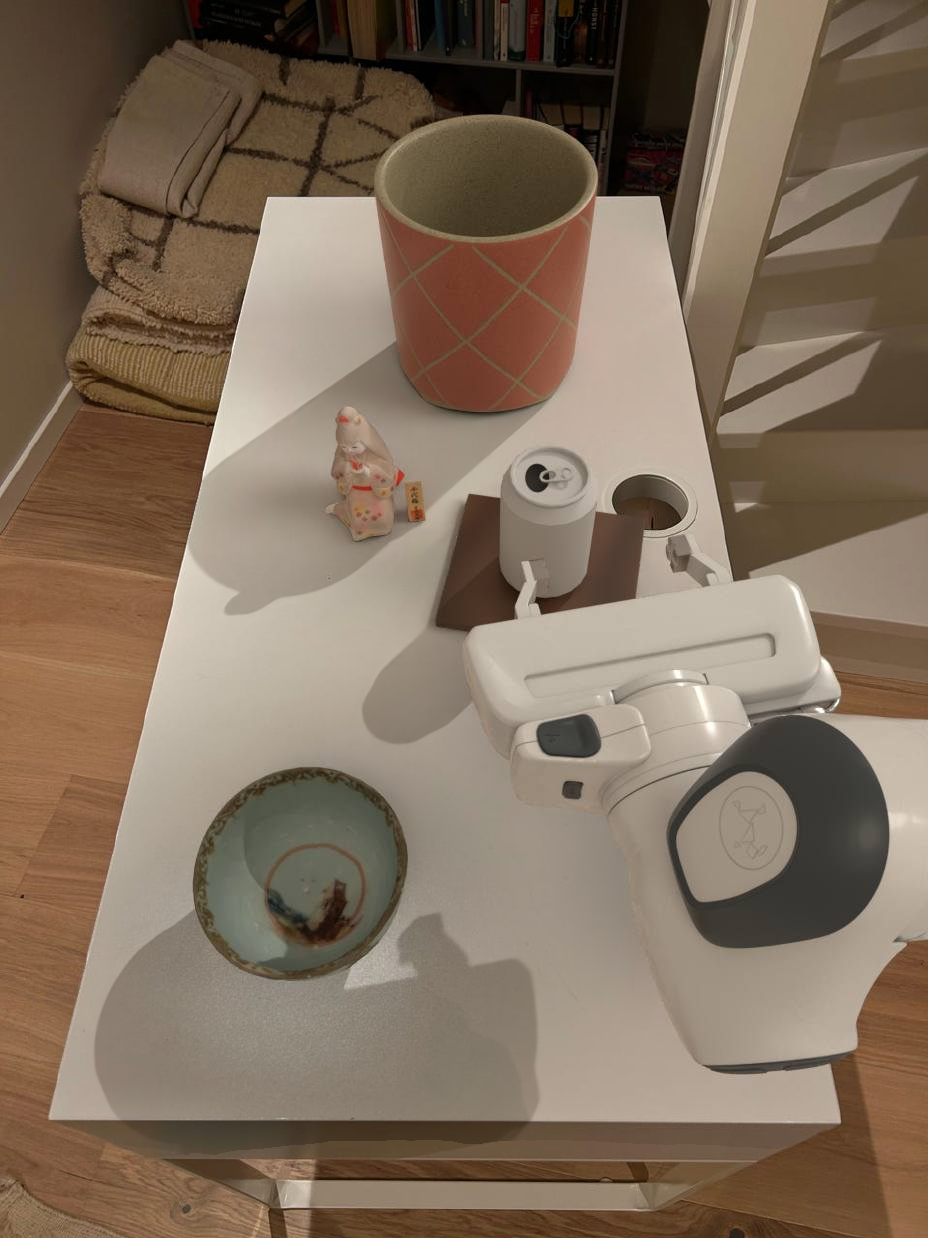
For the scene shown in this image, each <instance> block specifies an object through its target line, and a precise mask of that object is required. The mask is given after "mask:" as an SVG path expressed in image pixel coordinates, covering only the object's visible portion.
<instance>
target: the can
mask: <svg viewBox="0 0 928 1238" xmlns="http://www.w3.org/2000/svg"><path fill="white" fill-rule="evenodd" d="M599 492H600V485H599V482H598V478H597V476H596V474H595V473H594V471H593V470H592V467H591V464H590V463H589V462H588V461H587V459H586V458H585V456H584V455H582V454H581V453H580V452H578V451H577V450H575V449H573V448H570V447H567V446H565V445H563V444H562V445H561V444H553V443H548V444H547V443H546V444H537V445H535V446H532V447H530V448H527V449H525V450H523V451H522V452H521V453H519V454H518V455H517V456H515V458H514V460H513V461H512V462H511V464H510V465H509V466H508V467H507V469H506V471H505V472H504V473H503V475H502V479H501V483H500V492H499V493H500V495H499V498H500V558H499V561H500V567H501V572H502V574H503V575H504V577H505V579H506V580H507V582H508V583H509V584H511V585H512V586H513V587H514V588H515V589H516V590H518V591H520V592H521V590H522V587H523V586H522V582H521V577H520V562H523V561H529V560H536V559H542V558H544V560H545V563H546V565H545V568H546V569H547V570H548V574H549V577H550V580H549V585H548V587H549V593H548V595H542V596H537V597H541V598H548V597H557V596H560V595H563V594H565V593H568V592H570V591H572V590H573V589H574V588H575V587H577V586H578V585H579V584H580V583H581V582H582V580H583V578H584V577H585V575H586V573H587V566H588V560H589V553H590V546H591V540H592V533H593V526H594V520H595V513H596V511H597V506H598V498H599Z"/></svg>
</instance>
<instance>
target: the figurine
mask: <svg viewBox="0 0 928 1238" xmlns="http://www.w3.org/2000/svg"><path fill="white" fill-rule="evenodd" d="M334 419H335V423H336V428H335V439H336V440H335V441H336V443H337V447H336V449H335V452H334V457H333V461H332V465H331V468H330V469H331V470H330V476H331V478H332V479H333V480H334V481H335V482H336V488H337V489H336V490H337V491H338V492H339V493H340V494H342V495H345V499H341V500H339V501H337V502H336V503H331V504H329V505H327V506H325V507H326V508H325V513H326V515H330V514H333V515H335V516H336V517H337V518H338V519H339V520H341V522H343V524H345V525H346V526H347V528H348V529H349V530H350V533H351V536H352V539H353V540H354V541H356V542H357V541H358V542H359V541H361V540H364V539H367V538H370V537H378V536H385V535H388V534H390V532H391V531H392V528H393V525H394V521H395V499H394V494H393V493H394V492H395V489H396V487H398V486H399V485H400V484H401V482H402V481H403V479H404V477H405V473H404V471H402V470H401V469H399V467H397V466H396V465H394V458H393V456H392V454H391V452H390V450H389V448H388V446H387V444H386V443H385V441H384V439H383V438H382V436H381V434H380V433H379V432H378V430H376V428H375V427H374V426H373V425H372V424H371V423H370V421H369V420H368V419H366V417H364V416H363V415H362V414H360V413H359V412H358V411H357V410H356V409H355V408H354V407H352V406H343V407H341V409H339V411H338V412H337V416H336V417H335V418H334ZM404 492H405V499H406V500H405V501H406V507H407V516H408V519H407V521H408V522H419V521H425V520H426V512H425V511H426V510H425V503H424V502H425V501H424V495H423V494H424V493H423V486H422V481H421V480H417V481H416V480H415V481H408V482H404Z"/></svg>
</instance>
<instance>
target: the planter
mask: <svg viewBox="0 0 928 1238" xmlns="http://www.w3.org/2000/svg"><path fill="white" fill-rule="evenodd" d="M598 185H599V173H598V167H597V165H596V162H595V159H594V158H593V156H592V154H591V153H590V152H589V150H588V149H587V148H586V147H585V146H584V145H583V144H582V143H581V142H580V141H578V139H576V138H575V137H573V136H572V135H570V134H568V133H567V132H565V131H564V130H561V129H559V128H557V127H555V126H552V125H549V124H547V123H544V122H542V121H538V120H535V119H531V118H526V117H520V116H514V115H505V114H473V115H462V116H456V117H451V118H446V119H444V120H443V119H442V120H438V121H435V122H432V123H429V124H426V125H424V126H422V127H419V128H417V129H415V130H413V131H411V132H409V133H407V134H406V135H404V136H402V137H400V138H399V139H398V140H396V141H395V142H394V143H393V144H391V146H389V147H388V149H387V150H386V151H384V153H383V154H382V156H381V157H380V159H379V161H378V162H377V164H376V167H375V169H374V175H373V191H374V199H375V206H376V212H377V219H378V227H379V232H380V233H379V234H380V241H381V247H382V248H381V249H382V255H383V262H384V268H385V269H384V270H385V275H386V280H387V287H388V293H389V300H390V306H391V313H392V319H393V326H394V333H395V339H396V340H395V341H396V346H397V353H398V358H399V362H400V364H401V367H402V370H403V372H404V374H405V376H406V377H407V378H408V380H409V381H410V382H411V384H412V385H413V386H414V388H415V389H416V390H417V392H418V394H419V395H420V396H421V398H422V399H423V400H424V401H425V402H427V403H428V404H431V405H434V406H436V407H440V408H443V409H449V410H455V411H463V412H474V413H495V412H496V413H497V412H504V411H510V410H511V411H512V410H516V409H521V408H526V407H530V406H532V405H536V404H539V403H542V402H545V401H546V400H548V399H550V398H551V397H553V396H554V395H555V393H556V392H557V390H558V389H559V387H560V385H561V384H562V382H563V381H564V379H565V377H566V375H567V374H568V372H569V370H570V368H571V366H572V364H573V363H572V362H573V359H574V356H575V351H576V350H575V349H576V343H577V336H578V328H579V323H580V315H581V308H582V300H583V293H584V287H585V280H586V274H587V267H588V260H589V254H590V245H591V237H592V230H593V222H594V215H595V214H594V213H595V206H596V199H597V193H598Z"/></svg>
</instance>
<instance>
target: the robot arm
mask: <svg viewBox="0 0 928 1238" xmlns="http://www.w3.org/2000/svg"><path fill="white" fill-rule="evenodd" d="M666 541H667V543H666V545H665V556H666V558H667V560H668V561H669V562H670V563H669V567H670V569H671V572H672V574H676V573H683V572H685V573H686V574H688V576H690V577H691V578H692V579H693V580H694V581H695V582H697V583H698V584H699V585H700V586H701V587H695V588H690V589H689V588H688V589H684V590H678V591H672V592H667V593H660V594H654V595H648V596H643V597H636V599H631V600H625V601H619V602H613V603H607V604H602V605H596V606H590V607H584V608H578V609H573V610H567V611H561V612H555V613H549V614H544V615H541V613H540V610H539V606H538V604H536V603H534V602H535V599H536V597H537V596H542V595H548V593H549V587H548V585H549V580H550V577H549V574H548V570H547V569H546V568H545V565H546V563H545V560H544V558H542V559H536V560H529V561H523V562H520V577H521V582H522V586H523V587H522V590H521V592H520V595H519V597H518V600H517V602H516V605H515V620H509V621H503V622H497V623H491V624H485V625H479V626H476V627H474V628H472V629H471V631H470V632H469V631H468V634H467V635H466V638H465V639H464V641H463V642H462V659H463V667H464V672H465V677H466V682H467V685H468V688H469V692H470V696H471V698H472V701H473V705H474V708H475V711H476V714H477V717H478V718H479V721H480V723H481V726H482V729H483V731H484V733H485V735H486V738H487V739H488V742H489V743H490V745H491V746H492V748H493V749H494V750H495V751H496V753H498V755H500V756H501V757H503V758H504V759H505V760H507V761H509V771H510V777H511V783H512V786H513V789H514V793H515V795H516V798H517V799H518V800H519V801H520V802H521V803H523V804H525V805H528V806H534V807H544V808H553V809H562V810H571V811H578V812H579V811H580V812H588V813H593V814H599V815H605V818H606V822H607V825H608V828H609V831H610V833H611V835H612V837H613V838H614V839H615V842H616V843H617V845H618V846H619V848H620V849H621V851H622V854H623V856H624V859H625V862H626V865H627V868H628V869H627V870H628V875H629V901H630V902H629V903H630V907H631V910H632V914H633V918H634V921H635V925H636V928H637V931H638V935H639V938H640V941H641V945H642V948H643V950H644V954H645V958H646V961H647V963H648V967H649V969H650V972H651V975H652V978H653V980H654V984H655V986H656V989H657V991H658V994H659V996H660V999H661V1001H662V1003H663V1006H664V1009H665V1011H666V1013H667V1016H668V1018H669V1020H670V1023H671V1025H672V1026H673V1029H674V1030H675V1032H676V1034H677V1036H678V1039H679V1041H680V1042H681V1044H682V1045H683V1046H684V1049H685V1051H687V1053H688V1055H689V1056H690V1058H691V1059H692V1060H693V1061H694V1062H695V1063H696V1064H698V1065H700V1066H702V1067H704V1068H706V1069H709V1070H710V1071H711V1072H715V1073H719V1074H726V1075H763V1074H767V1073H769V1072H771V1073H772V1072H780V1071H781V1072H782V1071H784V1072H791V1071H800V1070H806V1069H812V1068H817V1067H818V1068H819V1067H822V1066H826V1065H830V1064H834V1063H836V1062H840V1061H842V1060H844V1059H845V1057H847V1056H849V1055H851V1054H853V1053H854V1052H855V1051H856V1050H857V1048H858V1043H859V1038H858V1037H859V1035H858V1028H857V1022H858V1018H859V1015H860V1013H861V1010H862V1008H863V1005H864V1002H865V1000H866V997H867V996H868V994H869V992H870V991H871V989H872V987H873V986H874V983H875V982H876V981H877V979H878V977H879V976H880V975H881V973H882V972H883V970H884V969H886V967H887V965H888V964H889V963H890V962H891V961H892V960H893V958H894V957H895V956H896V955H898V954H899V953H900V952H901V951H902V950H903V949H904V948H906V947H907V946H908V943H907V942H917V941H927V940H928V719H923V718H922V719H921V718H903V717H887V716H886V717H885V716H878V715H877V716H876V715H867V714H866V715H865V714H850V713H849V714H848V713H834V712H835V711H836V710H837V709H838V708H839V706H840V703H841V700H842V688H841V685H840V682H839V680H838V679H837V678H838V677H837V676H836V674H835V672H834V669H833V668H832V665H831V663H829V661H828V660H827V659H826V657H824V656H822V655H821V649H820V645H819V644H820V643H819V640H818V636H817V632H816V629H815V628H816V627H815V625H814V622H813V619H812V616H811V612H810V609H809V607H808V603H807V601H806V599H805V596H804V593H803V591H802V589H801V587H800V585H799V584H797V583H796V582H794V581H792V580H791V579H789V578H788V577H786V576H784V575H782V574H778V573H777V574H769V575H764V576H758V577H751V578H747V579H741V580H735V581H733V580H732V577H731V576H730V573H729V571H728V569H727V568H726V567H724V566H722V565H721V564H719V563H718V562H717V561H715V560H714V559H713V558H711V556H708V555H707V554H706V553H704V552H702V551H701V550H700V547H699V546H698V544H697V541H696V538H695V536H694V534H693V533H692V532H690V533H685V534H684V533H683V534H677V535H672V536H668V537H667V540H666ZM825 706H826V707H825Z"/></svg>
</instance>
